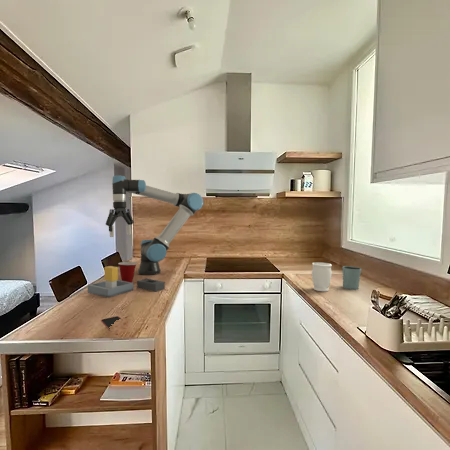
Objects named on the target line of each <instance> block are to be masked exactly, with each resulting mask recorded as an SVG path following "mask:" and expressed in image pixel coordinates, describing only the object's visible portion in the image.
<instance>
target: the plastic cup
mask: <svg viewBox="0 0 450 450" xmlns="http://www.w3.org/2000/svg"><path fill="white" fill-rule="evenodd" d="M137 264H138V263H137V262H132V261H131V262H128V261H126V262H125V261H122V262H118V264H117V265H118V269H119V272H120V278H121V281H126V282H131V283H133V281H134V276H135V270H136V267H137Z"/></svg>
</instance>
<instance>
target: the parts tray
mask: <svg viewBox="0 0 450 450" xmlns="http://www.w3.org/2000/svg"><path fill="white" fill-rule="evenodd" d="M132 291H134V282H132V283H131V282H126V281H122V279H121V280H120V279H118V280H117V287H113V288H109V289H108V288H106V280H103V281H99V282H98V281H97V282H95V283H91V284H87V293H89V294H92V295H96V296H101V297H105V298H111V297H114V296H115V297H116V296H119V295H122V294H125V293H129V292H132Z"/></svg>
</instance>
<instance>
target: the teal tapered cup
mask: <svg viewBox="0 0 450 450" xmlns="http://www.w3.org/2000/svg"><path fill="white" fill-rule="evenodd" d="M341 269H342V288H343V287H344V289H346V290H350V291H351V290H352V291H353V290H359V287H360V280H361V278H360V277H361V274H362V273H361V272H362V268H361V267H357V266H349V265H348V266H347V265H344V266H342V268H341Z"/></svg>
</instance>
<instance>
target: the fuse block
mask: <svg viewBox="0 0 450 450" xmlns="http://www.w3.org/2000/svg"><path fill="white" fill-rule="evenodd" d="M165 283H166V282H165V281H161V280H159V279H158V280H157V279H151V278H143V279H139V280H136V288H137V289H141V290H145V291H148V292H149V291H150V292H159V291H163V290H165V289H166V287H165V285H166V284H165Z"/></svg>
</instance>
